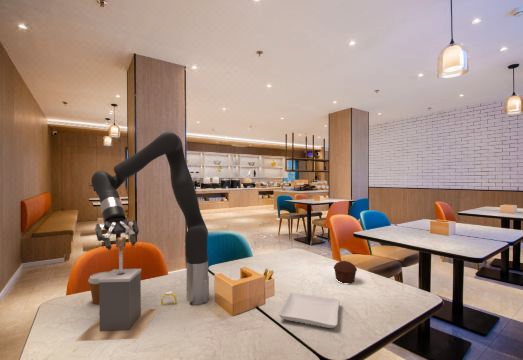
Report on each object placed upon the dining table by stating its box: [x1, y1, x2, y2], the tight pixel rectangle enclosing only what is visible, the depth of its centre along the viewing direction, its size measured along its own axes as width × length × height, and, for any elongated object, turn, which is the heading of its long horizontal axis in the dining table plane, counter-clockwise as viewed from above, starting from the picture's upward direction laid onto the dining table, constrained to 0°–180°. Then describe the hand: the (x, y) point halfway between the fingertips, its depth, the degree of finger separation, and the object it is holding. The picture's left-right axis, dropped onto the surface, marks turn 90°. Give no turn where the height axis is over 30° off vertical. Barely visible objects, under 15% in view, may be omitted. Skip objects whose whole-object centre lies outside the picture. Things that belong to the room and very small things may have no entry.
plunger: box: [115, 236, 127, 275], centre depth 97 cm, size 7×7×21 cm
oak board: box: [75, 308, 159, 342], centre depth 97 cm, size 20×20×1 cm
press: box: [98, 268, 142, 331], centre depth 97 cm, size 12×10×18 cm
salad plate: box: [278, 292, 341, 329], centre depth 105 cm, size 21×21×3 cm
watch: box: [160, 290, 177, 306], centre depth 111 cm, size 6×3×6 cm, turn 98°
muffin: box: [333, 260, 358, 284], centre depth 138 cm, size 12×11×10 cm
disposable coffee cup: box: [88, 271, 110, 305], centre depth 115 cm, size 10×10×12 cm
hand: (122, 246), depth 95 cm, fingers open, 7 cm apart
